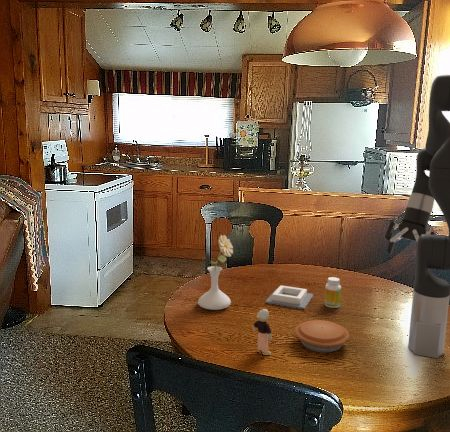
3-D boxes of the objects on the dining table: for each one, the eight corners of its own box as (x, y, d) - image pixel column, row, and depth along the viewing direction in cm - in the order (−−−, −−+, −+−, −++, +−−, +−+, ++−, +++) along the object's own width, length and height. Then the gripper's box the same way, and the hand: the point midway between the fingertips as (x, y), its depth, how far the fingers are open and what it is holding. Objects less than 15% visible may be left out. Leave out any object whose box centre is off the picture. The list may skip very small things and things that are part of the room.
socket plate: (304, 309, 158) (304, 301, 157) (265, 303, 163) (265, 295, 163) (313, 295, 171) (313, 288, 170) (276, 290, 176) (276, 282, 175)
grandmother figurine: (277, 354, 128) (279, 311, 125) (269, 359, 125) (270, 315, 122) (256, 345, 133) (257, 303, 130) (247, 349, 130) (248, 307, 127)
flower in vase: (212, 316, 152) (212, 242, 147) (191, 305, 161) (190, 235, 156) (241, 306, 161) (242, 236, 156) (219, 296, 169) (220, 230, 164)
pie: (291, 331, 142) (292, 315, 141) (342, 332, 142) (343, 317, 141) (297, 356, 127) (298, 339, 126) (354, 357, 127) (355, 340, 126)
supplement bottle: (337, 309, 159) (338, 282, 157) (322, 306, 161) (323, 279, 159) (342, 304, 163) (343, 278, 161) (327, 301, 166) (328, 275, 164)
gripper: (393, 202, 148) (378, 250, 148) (440, 212, 140) (424, 263, 140) (398, 206, 154) (384, 253, 154) (443, 217, 146) (428, 266, 146)
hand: (403, 258), depth 147 cm, fingers open, 8 cm apart
